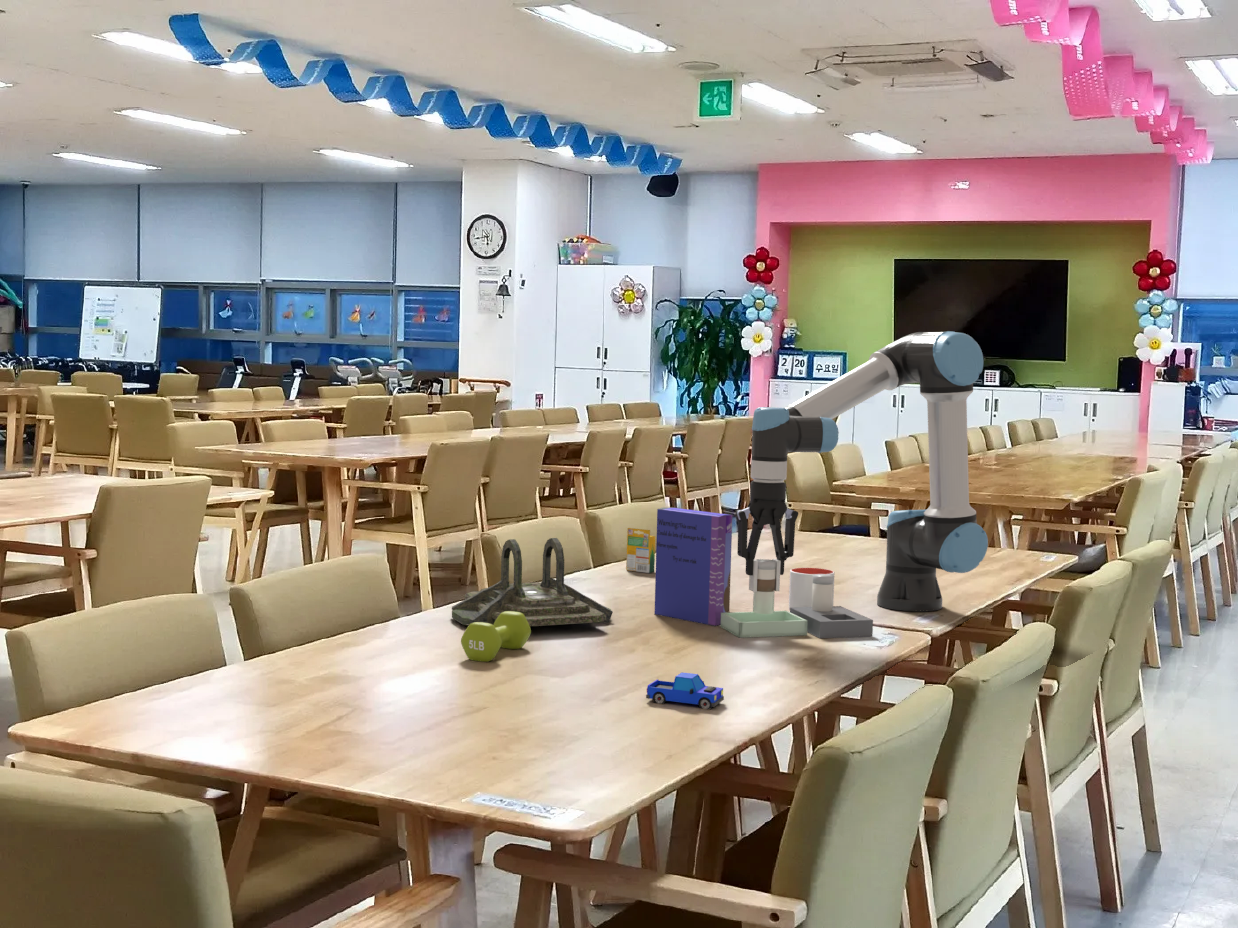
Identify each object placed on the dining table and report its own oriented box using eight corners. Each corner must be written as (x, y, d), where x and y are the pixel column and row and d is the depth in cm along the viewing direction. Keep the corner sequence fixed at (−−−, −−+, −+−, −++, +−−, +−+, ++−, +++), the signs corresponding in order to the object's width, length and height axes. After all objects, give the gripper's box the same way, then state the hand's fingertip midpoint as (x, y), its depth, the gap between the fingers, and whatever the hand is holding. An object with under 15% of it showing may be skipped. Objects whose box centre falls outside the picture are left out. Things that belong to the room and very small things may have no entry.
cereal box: (729, 623, 300) (732, 514, 298) (715, 626, 297) (718, 515, 295) (668, 611, 312) (671, 506, 310) (654, 614, 308) (657, 507, 306)
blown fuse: (769, 609, 295) (771, 558, 294) (777, 613, 291) (779, 562, 290) (749, 610, 294) (751, 559, 293) (757, 614, 290) (759, 562, 289)
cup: (831, 620, 307) (833, 575, 307) (786, 617, 309) (788, 573, 309) (833, 611, 317) (835, 568, 316) (790, 609, 319) (791, 566, 318)
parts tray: (786, 624, 300) (786, 610, 300) (807, 635, 290) (807, 620, 289) (720, 626, 296) (720, 612, 296) (739, 637, 285) (739, 622, 285)
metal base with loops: (433, 610, 308) (434, 530, 307) (573, 603, 322) (575, 526, 320) (481, 642, 276) (483, 552, 275) (635, 632, 290) (637, 547, 288)
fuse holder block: (839, 621, 305) (841, 572, 305) (872, 636, 290) (874, 584, 289) (789, 623, 302) (791, 573, 301) (819, 638, 287) (821, 585, 286)
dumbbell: (494, 665, 256) (495, 626, 255) (456, 660, 259) (457, 622, 258) (534, 648, 271) (534, 612, 270) (498, 644, 274) (498, 608, 273)
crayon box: (654, 572, 368) (656, 529, 367) (649, 573, 365) (650, 530, 365) (631, 569, 372) (632, 526, 371) (625, 570, 369) (626, 527, 368)
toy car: (713, 713, 226) (714, 683, 226) (644, 704, 230) (645, 675, 230) (724, 704, 232) (725, 674, 232) (657, 695, 237) (658, 667, 236)
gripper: (799, 479, 296) (795, 586, 298) (723, 478, 291) (719, 588, 293) (814, 482, 289) (809, 592, 291) (735, 482, 284) (731, 594, 286)
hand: (764, 590), depth 292 cm, fingers closed on blown fuse, 4 cm apart
